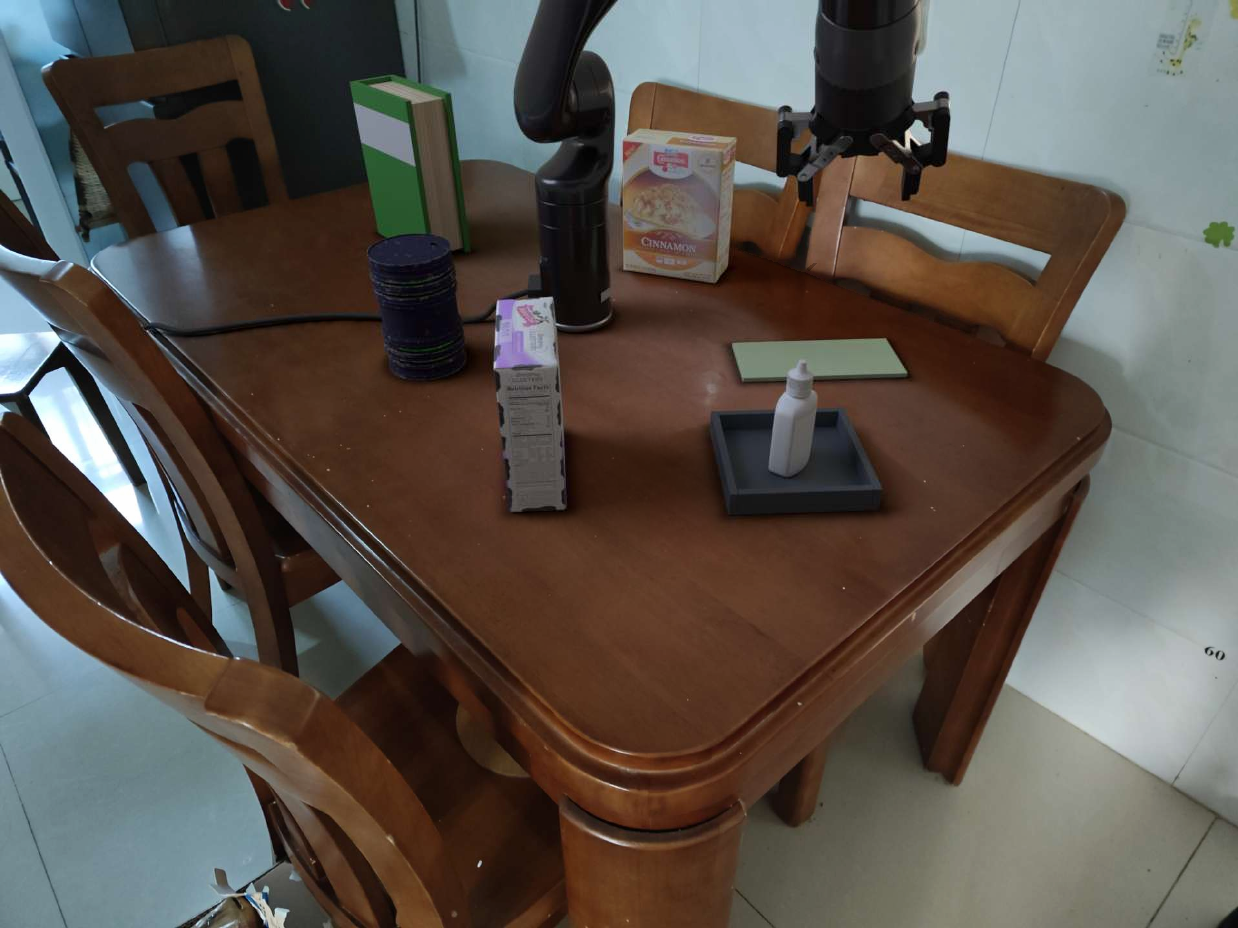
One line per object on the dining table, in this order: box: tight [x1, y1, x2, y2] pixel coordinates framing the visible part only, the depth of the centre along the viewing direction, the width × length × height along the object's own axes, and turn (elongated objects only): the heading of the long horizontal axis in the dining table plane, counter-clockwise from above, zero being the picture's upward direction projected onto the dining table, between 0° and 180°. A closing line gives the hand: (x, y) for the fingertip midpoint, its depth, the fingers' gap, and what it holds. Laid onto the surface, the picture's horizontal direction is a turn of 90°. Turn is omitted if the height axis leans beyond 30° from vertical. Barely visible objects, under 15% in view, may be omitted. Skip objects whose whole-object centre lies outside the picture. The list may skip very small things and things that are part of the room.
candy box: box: [493, 297, 568, 513], centre depth 81 cm, size 14×6×16 cm, turn 5°
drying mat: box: [731, 337, 908, 383], centre depth 103 cm, size 20×9×1 cm, turn 92°
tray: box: [709, 406, 884, 516], centre depth 85 cm, size 15×15×3 cm
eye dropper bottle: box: [769, 359, 819, 477], centre depth 82 cm, size 4×6×12 cm
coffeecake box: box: [622, 127, 738, 284], centre depth 122 cm, size 15×7×20 cm, turn 68°
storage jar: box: [366, 233, 467, 382], centre depth 100 cm, size 10×10×15 cm
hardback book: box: [349, 74, 472, 254], centre depth 131 cm, size 18×7×24 cm, turn 40°
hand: (856, 196), depth 77 cm, fingers open, 8 cm apart
